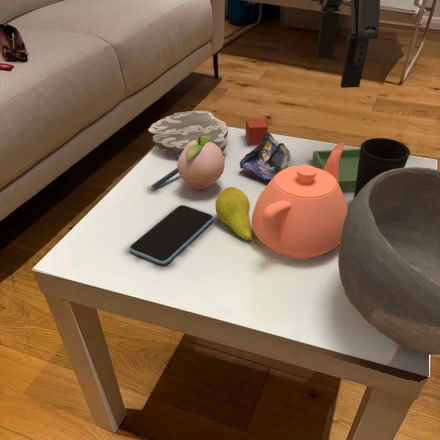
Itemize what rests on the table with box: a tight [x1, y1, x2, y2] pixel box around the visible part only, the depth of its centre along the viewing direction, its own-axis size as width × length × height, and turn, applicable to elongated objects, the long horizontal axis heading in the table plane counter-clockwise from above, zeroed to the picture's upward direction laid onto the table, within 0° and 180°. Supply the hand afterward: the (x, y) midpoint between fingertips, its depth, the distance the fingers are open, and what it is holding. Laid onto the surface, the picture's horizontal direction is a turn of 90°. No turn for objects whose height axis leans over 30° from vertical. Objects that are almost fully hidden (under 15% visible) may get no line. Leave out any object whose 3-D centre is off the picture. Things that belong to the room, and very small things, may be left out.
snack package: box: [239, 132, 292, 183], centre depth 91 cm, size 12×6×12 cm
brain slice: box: [147, 110, 229, 157], centre depth 100 cm, size 20×17×3 cm
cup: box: [353, 137, 411, 199], centre depth 78 cm, size 8×8×12 cm
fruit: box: [215, 186, 258, 245], centre depth 77 cm, size 6×6×12 cm
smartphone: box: [129, 204, 214, 265], centre depth 77 cm, size 7×1×15 cm
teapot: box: [251, 141, 348, 259], centre depth 73 cm, size 22×15×12 cm
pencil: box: [150, 167, 179, 190], centre depth 90 cm, size 1×1×15 cm
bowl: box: [337, 166, 440, 356], centre depth 59 cm, size 24×24×15 cm
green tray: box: [311, 148, 360, 193], centre depth 91 cm, size 12×12×2 cm
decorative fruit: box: [176, 136, 226, 190], centre depth 84 cm, size 9×8×10 cm
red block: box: [245, 118, 269, 146], centre depth 101 cm, size 4×4×4 cm
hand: (336, 71), depth 74 cm, fingers open, 13 cm apart
